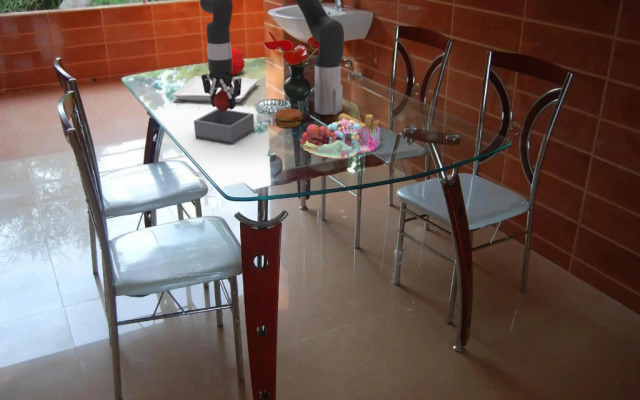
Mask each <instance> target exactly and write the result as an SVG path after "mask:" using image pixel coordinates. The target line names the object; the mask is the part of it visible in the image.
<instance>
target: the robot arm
mask: <svg viewBox="0 0 640 400" xmlns="http://www.w3.org/2000/svg"><path fill="white" fill-rule="evenodd" d="M294 1H295V3H296V4H297V6H298V7H299V9H300V11H301V13H302V15H303V17H304V19H305V21H306V24H307V27H308V29H309V31H310V34H311V37H312V38H313V39H314V40H315V41H316V42H317V43H319V50H318V54H317V55H316V56H314V111H315V113H316V114H319V115H322V116H323V115H326V116H329V115H333V116H334V115H335V116H336V115H338V114H339V113H340V112H341V111H343V84H341V74H342V73H341V71H342V70H341V68H342V60H343V55H344V48H345V47H344V45H345V44H344V43H345V32H344V31H345V30H344V27H343V25H342V23H341V22H340V21H338V20H336V19H334V18H331V17H330V16H329V14H328V13H327V12H326V10H325V8H324V6H323V5H322V3H321V1H320V0H294ZM199 4H200V7H201V9H202V10H203V11H204V12H206V13H209V14H212V21H211V22H209V23H207V25H206V41H207V47H206V48H207V49H206V52H207V63H208V71H209V73H204V74H201V75H200V76H201V77H202V82H203V87H204V92H205V93H208V94H209V95H210V98H211V102H210V104H211V106H212V107H213V108H215V107H216V106H215V105H214V97H215V95H216V92H217V90H218V88H222V89H224V90H225V92H226V93H227V95H228V97H229V99H228V101H229V109H228V110H232V111H233V109H235V107H236V103H235V97H237V96H239V95H240V93H241V81H242V79H241V78H242V77H236V78H235V76H234V75H232V70H233V67H232V51H231V47H232V45H231V35H230V34H231V32H230V26H231V21H232V16H233V10H234V7H233V5H234V4H233V1H232V0H199ZM210 79H211V81H212V84H210ZM232 81H233V85H234V87H233V85H232V83H231V82H232ZM228 87H229V89H228ZM233 89H234V90H233Z"/></svg>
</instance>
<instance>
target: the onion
mask: <svg viewBox="0 0 640 400" xmlns="http://www.w3.org/2000/svg"><path fill="white" fill-rule="evenodd" d="M228 99H229V97H228V95H227V93H226V92H225V90H224V89H222V88H221V90H220V91H219V92H218V93H217V94H216V95H215V97H214V105H215V106H216V108H215V109H217V108H218V109H219V110H220V111H222V112H225V111H226V110H230V109H229V101H228Z"/></svg>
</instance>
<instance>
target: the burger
mask: <svg viewBox="0 0 640 400" xmlns="http://www.w3.org/2000/svg"><path fill="white" fill-rule="evenodd" d="M274 117H275V118H274V119H273V120H274V124H276V125H277V126H278V127H280V128H290V129H292V128H296V127H298V126H300V125H301V123H302V121H303V113H302V112H301V110H299V109H296V108H289V107H284V108H281V109H279V110H278V111H276V113H275V115H274Z"/></svg>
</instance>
